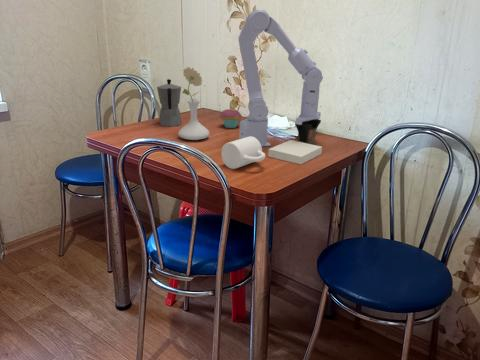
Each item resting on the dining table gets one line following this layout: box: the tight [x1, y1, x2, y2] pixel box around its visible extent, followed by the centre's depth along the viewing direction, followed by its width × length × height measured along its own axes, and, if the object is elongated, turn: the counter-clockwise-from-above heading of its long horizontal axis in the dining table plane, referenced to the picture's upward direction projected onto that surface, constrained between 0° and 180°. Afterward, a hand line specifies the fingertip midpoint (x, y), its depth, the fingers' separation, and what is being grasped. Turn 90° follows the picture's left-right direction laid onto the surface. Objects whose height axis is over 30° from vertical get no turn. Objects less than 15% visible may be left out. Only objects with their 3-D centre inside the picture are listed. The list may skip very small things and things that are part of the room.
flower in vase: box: [177, 66, 211, 141], centre depth 150 cm, size 13×11×25 cm
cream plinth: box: [267, 139, 323, 166], centre depth 138 cm, size 14×12×2 cm
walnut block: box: [297, 127, 317, 145], centre depth 149 cm, size 5×5×6 cm
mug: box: [220, 136, 266, 170], centre depth 126 cm, size 12×10×8 cm
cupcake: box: [219, 98, 242, 129], centre depth 169 cm, size 9×8×12 cm
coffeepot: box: [156, 78, 183, 128], centre depth 168 cm, size 15×9×18 cm, turn 9°
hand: (306, 140), depth 150 cm, fingers closed on walnut block, 5 cm apart
